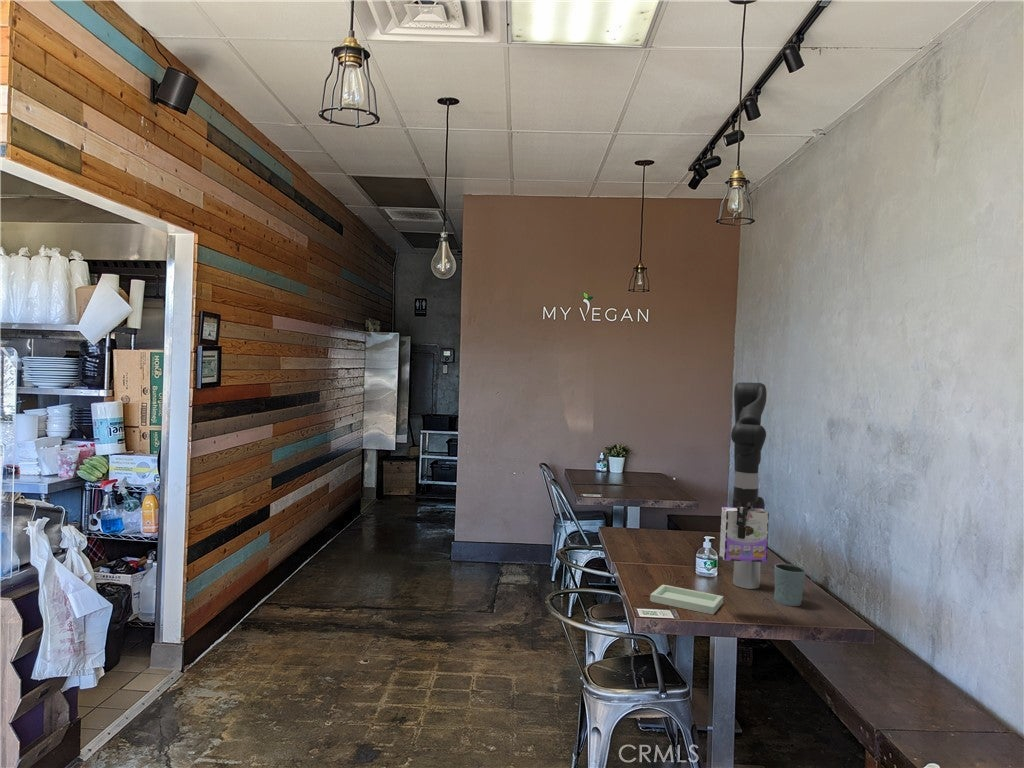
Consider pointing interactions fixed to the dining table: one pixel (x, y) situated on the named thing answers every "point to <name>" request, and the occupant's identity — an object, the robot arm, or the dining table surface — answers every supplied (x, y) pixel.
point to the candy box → (755, 536)
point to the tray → (687, 599)
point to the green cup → (788, 584)
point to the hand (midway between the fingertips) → (743, 536)
